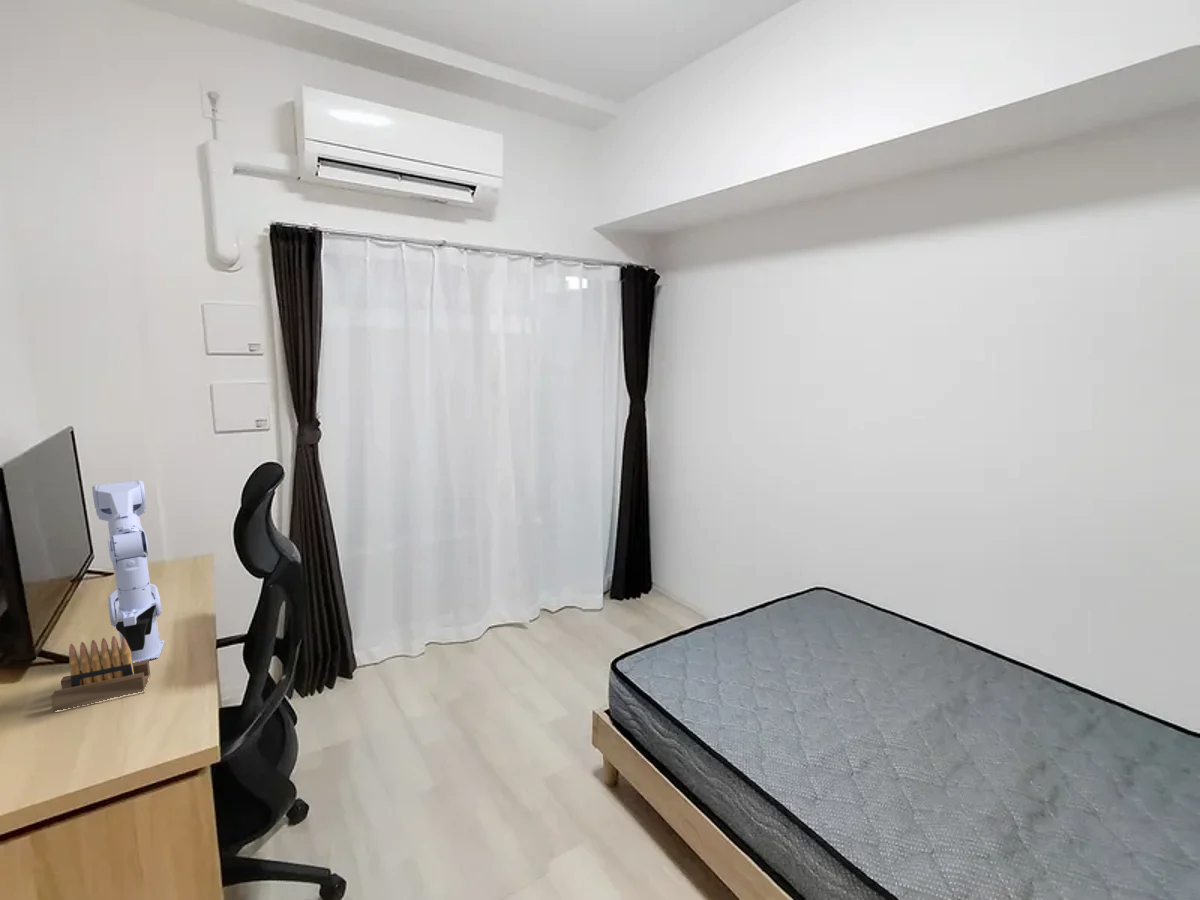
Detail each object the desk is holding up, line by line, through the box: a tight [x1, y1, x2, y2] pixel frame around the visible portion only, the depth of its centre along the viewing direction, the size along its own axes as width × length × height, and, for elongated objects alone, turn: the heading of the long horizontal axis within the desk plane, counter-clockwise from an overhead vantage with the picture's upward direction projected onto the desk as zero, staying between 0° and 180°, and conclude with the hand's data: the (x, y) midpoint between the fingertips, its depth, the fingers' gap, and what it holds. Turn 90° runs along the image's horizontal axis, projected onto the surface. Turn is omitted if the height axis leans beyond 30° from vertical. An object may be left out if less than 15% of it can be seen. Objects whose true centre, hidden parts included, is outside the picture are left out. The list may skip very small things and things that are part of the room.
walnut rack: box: [51, 660, 151, 712], centre depth 127 cm, size 8×15×4 cm, turn 120°
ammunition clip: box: [68, 635, 135, 687], centre depth 126 cm, size 11×2×12 cm, turn 120°
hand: (141, 642), depth 129 cm, fingers open, 7 cm apart
